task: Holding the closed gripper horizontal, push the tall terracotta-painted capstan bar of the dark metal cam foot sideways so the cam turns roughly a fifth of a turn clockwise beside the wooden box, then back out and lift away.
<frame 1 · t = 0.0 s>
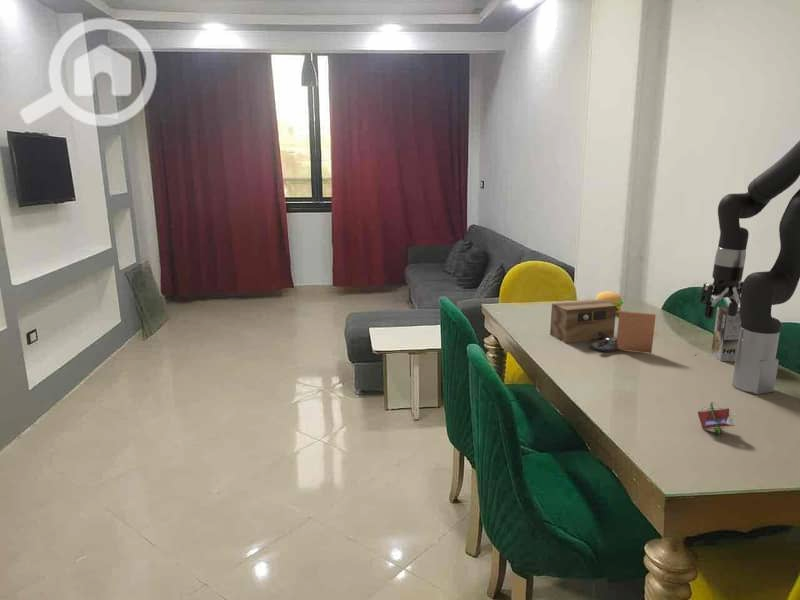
hand: (720, 316, 165), 17 cm above the table, tool pointing down, fingers open, 8 cm apart
coffee box: (725, 357, 181), on the table
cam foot: (621, 330, 187), point 7 cm above the table, hinge at 0.0°
hamburger: (607, 311, 237), on the table
wooden box: (581, 336, 203), on the table
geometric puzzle: (713, 431, 132), on the table
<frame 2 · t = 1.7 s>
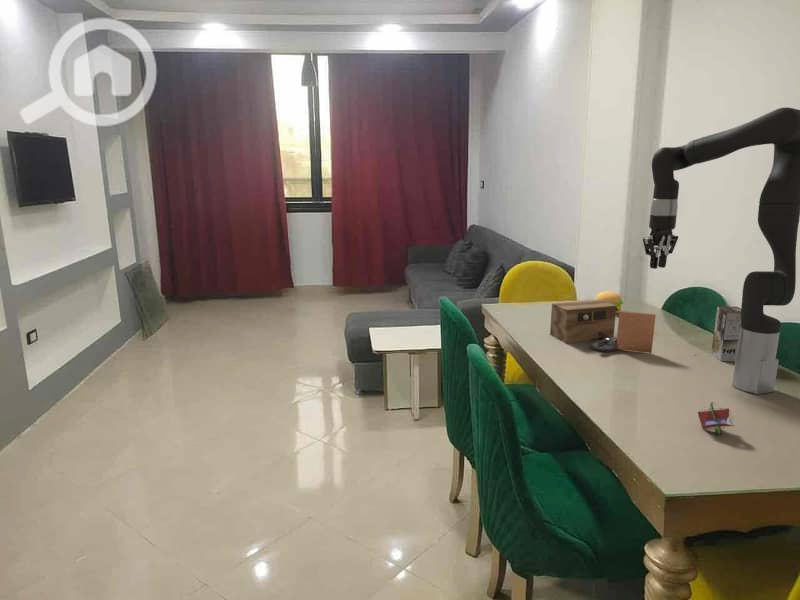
hand: (657, 267, 177), 29 cm above the table, tool pointing down, fingers open, 3 cm apart
nothing on the table moved.
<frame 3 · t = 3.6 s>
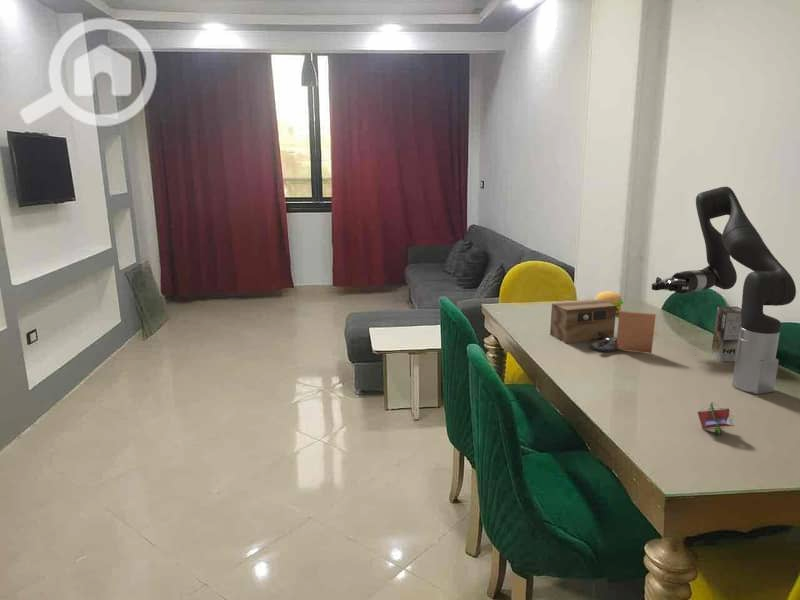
hand: (653, 287, 184), 22 cm above the table, tool horizontal, fingers closed
nothing on the table moved.
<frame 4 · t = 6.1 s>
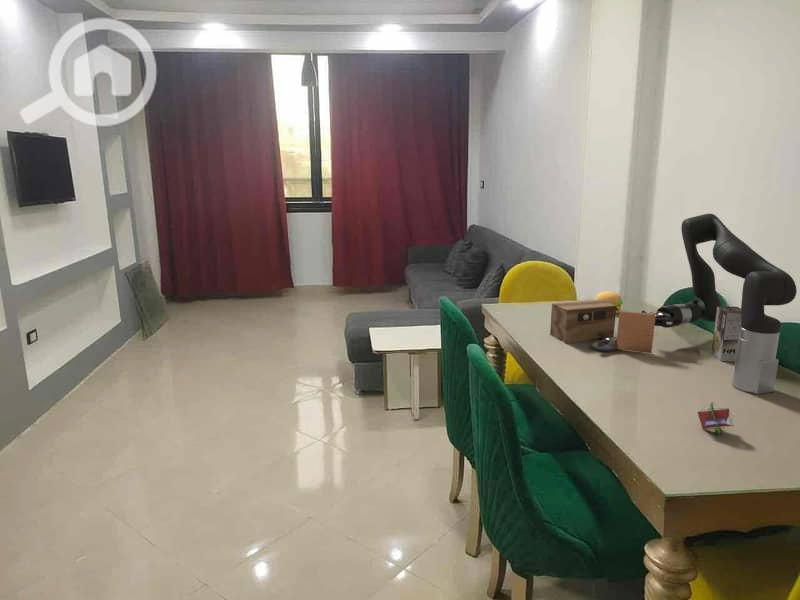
hand: (637, 321, 185), 10 cm above the table, tool horizontal, fingers closed
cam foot: (621, 330, 187), point 7 cm above the table, hinge at -0.5°, touching gripper
everything else where it was.
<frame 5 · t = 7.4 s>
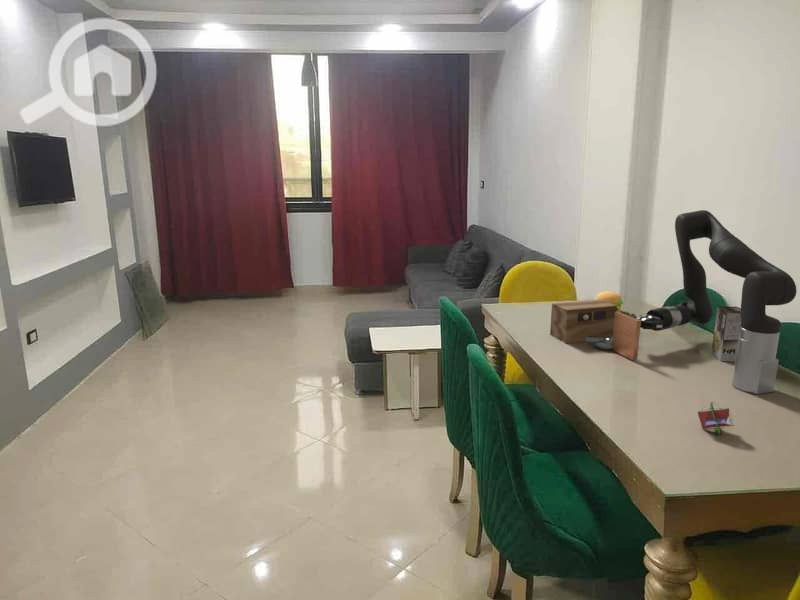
hand: (627, 325, 181), 10 cm above the table, tool horizontal, fingers closed
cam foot: (617, 332, 185), point 7 cm above the table, hinge at -51.1°, touching gripper
everything else where it was.
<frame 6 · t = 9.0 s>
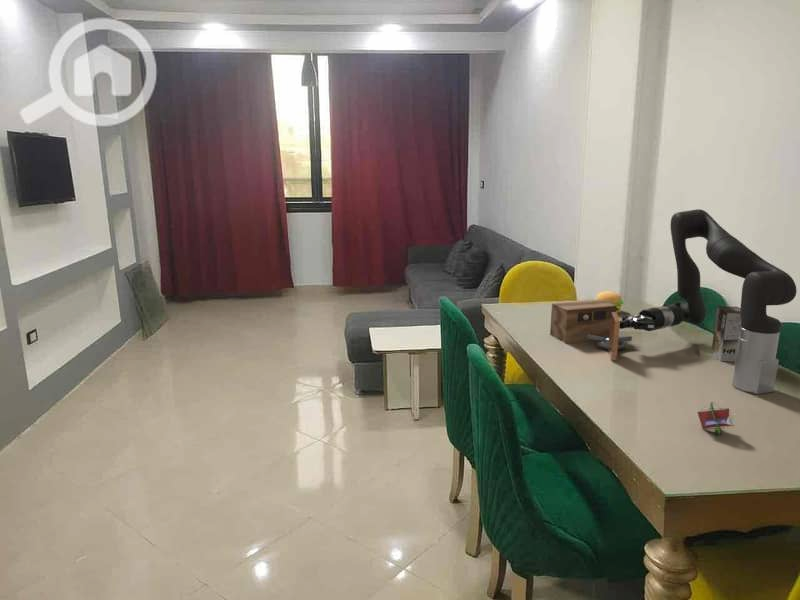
hand: (618, 325, 180), 10 cm above the table, tool horizontal, fingers closed
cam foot: (612, 332, 185), point 7 cm above the table, hinge at -81.2°
everything else where it was.
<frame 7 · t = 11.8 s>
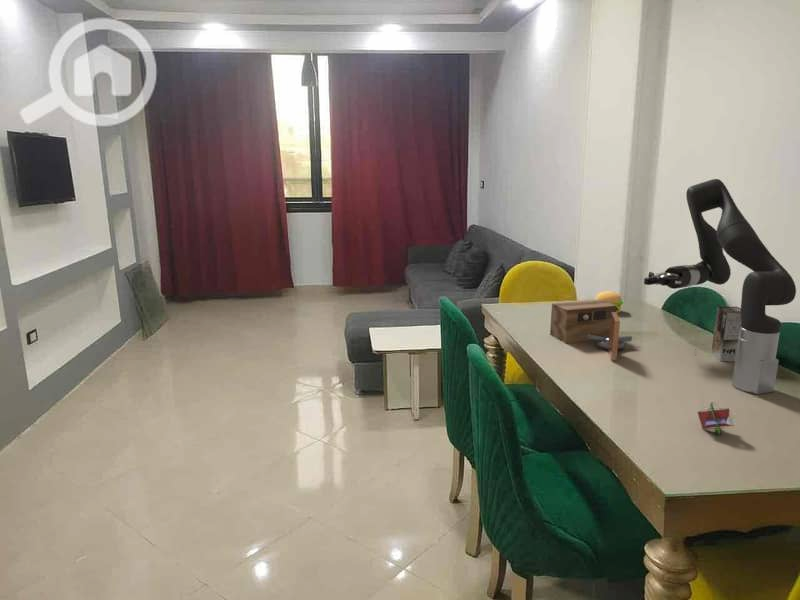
hand: (646, 281, 181), 24 cm above the table, tool horizontal, fingers closed
nothing on the table moved.
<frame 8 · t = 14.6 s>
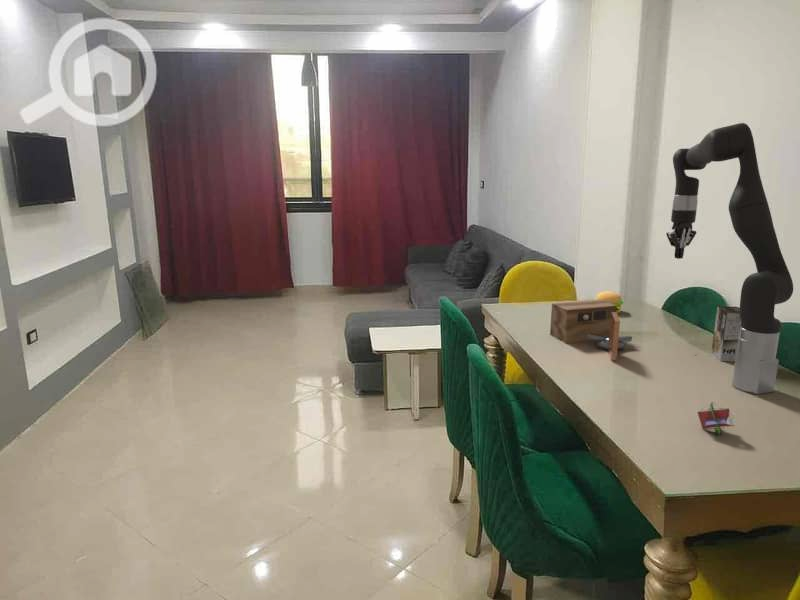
hand: (678, 258, 195), 29 cm above the table, tool pointing down, fingers closed
nothing on the table moved.
at the end: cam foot at -81° (first picture: +0°) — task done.
